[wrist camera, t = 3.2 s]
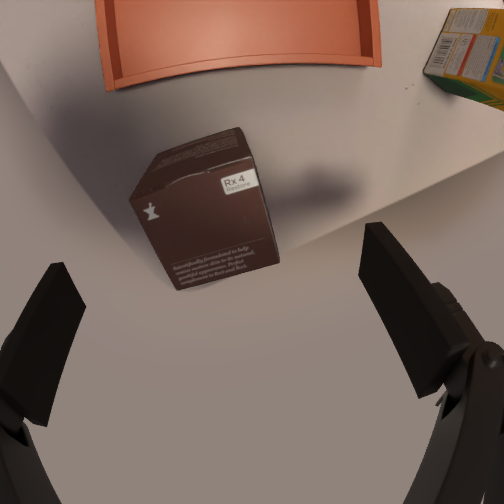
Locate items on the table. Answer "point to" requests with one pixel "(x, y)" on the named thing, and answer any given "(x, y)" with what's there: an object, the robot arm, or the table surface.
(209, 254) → the box
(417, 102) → the table surface
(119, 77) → the terracotta tray
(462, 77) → the crayon box
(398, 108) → the table surface
